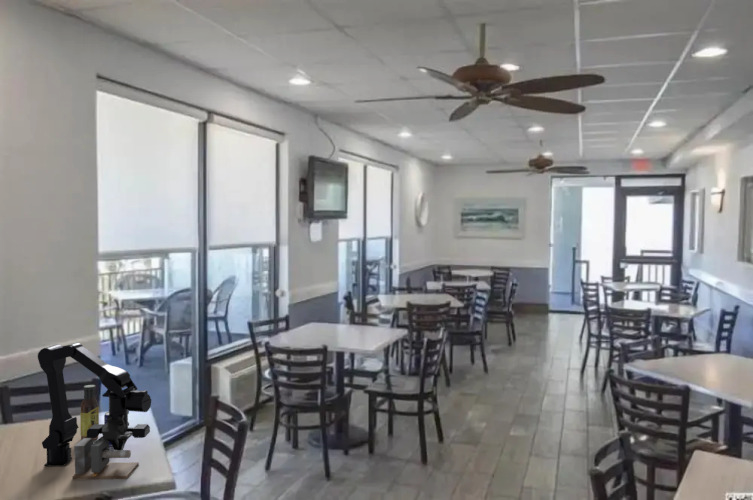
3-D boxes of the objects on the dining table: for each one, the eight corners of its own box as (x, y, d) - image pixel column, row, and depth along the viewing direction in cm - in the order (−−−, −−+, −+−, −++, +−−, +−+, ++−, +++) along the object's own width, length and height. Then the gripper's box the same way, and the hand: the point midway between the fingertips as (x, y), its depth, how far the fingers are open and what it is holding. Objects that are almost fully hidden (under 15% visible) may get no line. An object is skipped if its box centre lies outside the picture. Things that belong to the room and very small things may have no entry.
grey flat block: (91, 472, 202) (90, 445, 201) (102, 461, 210) (101, 436, 210) (99, 472, 202) (98, 445, 201) (109, 461, 210) (109, 436, 210)
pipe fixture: (72, 479, 200) (71, 448, 200) (87, 465, 211) (86, 436, 211) (126, 479, 201) (126, 448, 200) (138, 465, 212) (138, 435, 211)
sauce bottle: (94, 442, 233) (93, 388, 232) (77, 441, 233) (76, 388, 232) (102, 435, 240) (101, 383, 239) (85, 435, 240) (85, 383, 239)
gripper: (78, 417, 200) (79, 466, 201) (138, 417, 201) (139, 466, 202) (93, 407, 211) (94, 453, 212) (150, 407, 212) (150, 452, 213)
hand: (119, 456), depth 209 cm, fingers closed
